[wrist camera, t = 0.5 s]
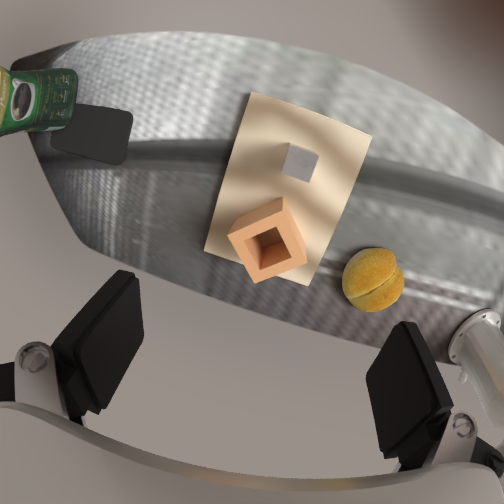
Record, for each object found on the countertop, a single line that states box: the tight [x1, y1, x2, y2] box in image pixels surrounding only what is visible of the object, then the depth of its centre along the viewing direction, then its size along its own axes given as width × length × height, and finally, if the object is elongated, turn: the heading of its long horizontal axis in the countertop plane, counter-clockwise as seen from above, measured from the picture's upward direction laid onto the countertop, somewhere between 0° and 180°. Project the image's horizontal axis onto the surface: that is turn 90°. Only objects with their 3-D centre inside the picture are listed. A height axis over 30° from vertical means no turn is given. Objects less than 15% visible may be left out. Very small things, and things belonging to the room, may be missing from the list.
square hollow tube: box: [227, 197, 307, 283], centre depth 30 cm, size 6×6×6 cm
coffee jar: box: [0, 67, 78, 137], centre depth 20 cm, size 10×8×19 cm
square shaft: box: [281, 143, 319, 183], centre depth 26 cm, size 3×3×6 cm
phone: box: [51, 103, 133, 165], centre depth 31 cm, size 7×1×15 cm
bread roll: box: [342, 248, 404, 312], centre depth 33 cm, size 8×9×4 cm
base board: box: [204, 92, 372, 286], centre depth 31 cm, size 20×14×1 cm
